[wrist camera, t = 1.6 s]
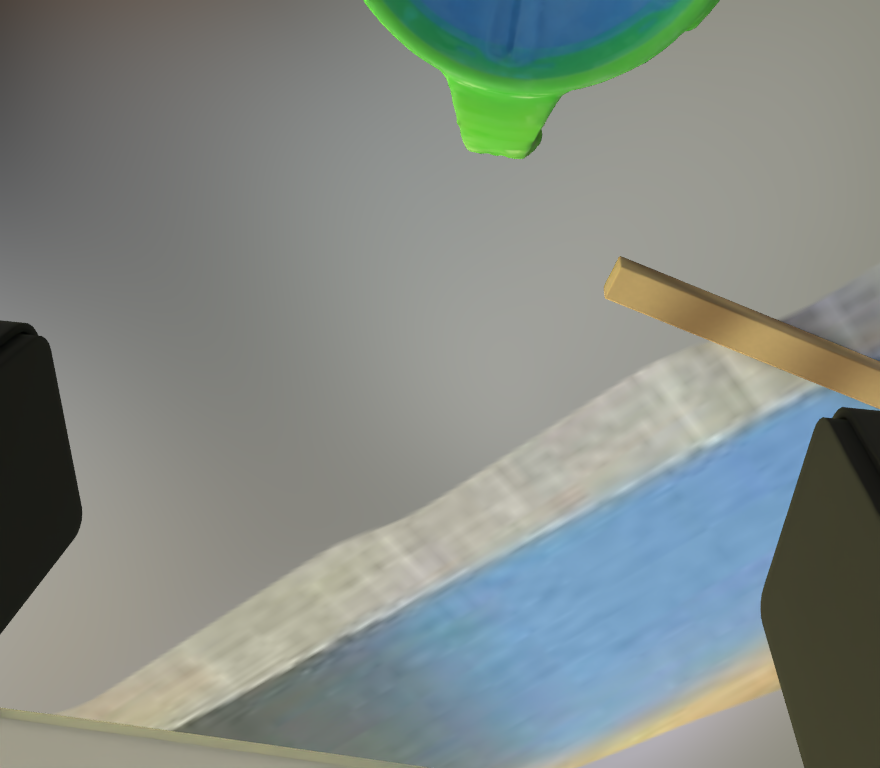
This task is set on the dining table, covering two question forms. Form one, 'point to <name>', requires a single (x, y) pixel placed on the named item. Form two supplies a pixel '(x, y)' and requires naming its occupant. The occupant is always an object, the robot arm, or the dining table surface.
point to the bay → (744, 330)
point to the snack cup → (530, 54)
